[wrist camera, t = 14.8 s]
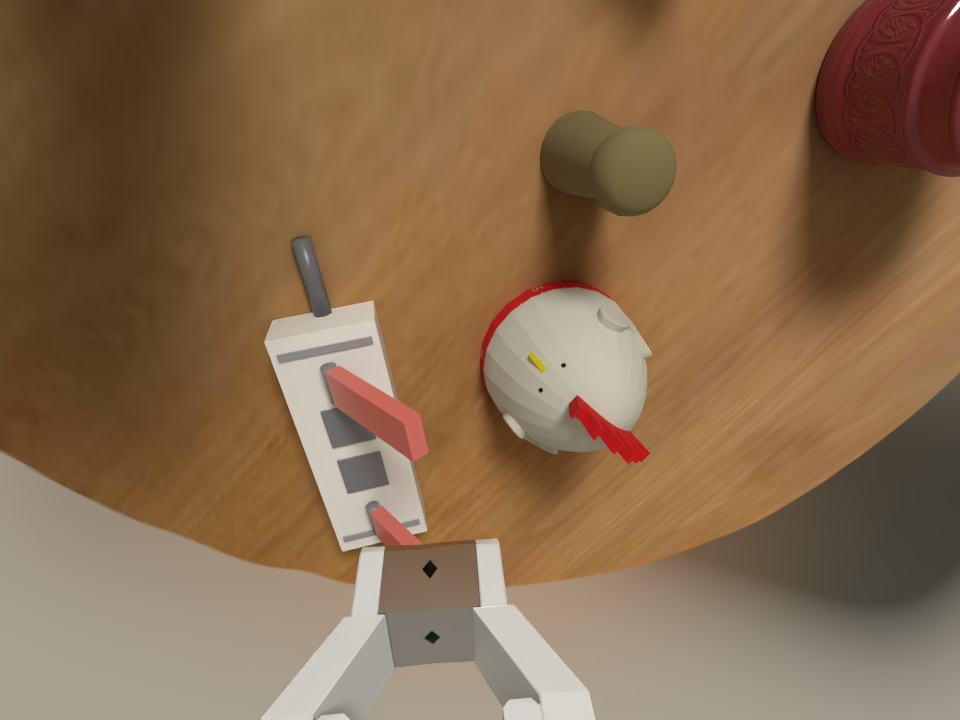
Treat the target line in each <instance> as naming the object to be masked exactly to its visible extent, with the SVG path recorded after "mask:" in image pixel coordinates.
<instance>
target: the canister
mask: <svg viewBox="0 0 960 720" xmlns="http://www.w3.org/2000/svg"><path fill="white" fill-rule="evenodd" d="M816 114H817V120H818V124H819V128H820V130H821V133H822V135H823V137H824V138H825V140H826V141H827V143H828V144H829V145H830V146H831V147H832V148H833V149H834V150H835V151H837V152H838V153H840V154H842V155H844V156H847V157H848V158H850V159H852V160H854V161H857V162H861V163H867V164H871V165H894V166H901V167H907V168H914V169H920V170H926V171H928V172H930V173H933V174H936V175H939V176H945V177H959V176H960V0H867V1H865V2H864V3H863V4H862V5H861V6H860V7H859V8H858V9H857V10H856V11H855V12H854V13H853V14H852V15H851V17H850V18H849V19H848V20H847V22H846V23H845V24H844V25H843V27H842V28H841V30H840V31H839V33H838V34H837V36H836V38H835V39H834V41H833V43H832V45H831V47H830V49H829V51H828V53H827V56H826V58H825V60H824V63H823V66H822V69H821V73H820V76H819V80H818V86H817V93H816Z"/></svg>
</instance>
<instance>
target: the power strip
mask: <svg viewBox="0 0 960 720" xmlns="http://www.w3.org/2000/svg"><path fill="white" fill-rule="evenodd" d="M291 243H292V247H293V250H294V253H295V256H296V259H297V263H298V266H299V269H300V272H301V276H302V279H303V282H304V285H305V288H306V292H307V295H308V298H309V301H310V304H311V308H312V311H313V312H312V313H307V314H301V315H296V316H291V317H286V318H281V319H276V320H272V323H271V325H270V328H269V331H268V333H267V336H266V338H265V341H264V343H265V345H266V348H267V351H268V354H269V356H270V359H271V362H272V364H273V367H274V370H275V372H276V375H277V378H278V380H279V383H280V386H281V388H282V391H283V394H284V396H285V399H286V402H287V405H288V407H289V410H290V413H291V415H292V418H293V421H294V423H295V426H296V429H297V431H298V434H299V437H300V439H301V442H302V445H303V447H304V450H305V453H306V456H307V458H308V461H309V464H310V466H311V469H312V472H313V474H314V477H315V480H316V482H317V485H318V488H319V490H320V493H321V496H322V498H323V501H324V504H325V507H326V509H327V512H328V515H329V517H330V520H331V523H332V525H333V528H334V531H335V533H336V536H337V539H338V541H339V544H340V547H341V549H342V552H343V551H347V550H352V549H356V548H360V547H364V546H368V545H372V544H376V543H380V542H381V541H380V540H379V539H378V537H377V536H376V535H374V533H373V530H372V527H371V524H370V521H369V518H368V515H367V511H366V508H365V507H366V505H367V504H368V503H369V502H371V501H377V502H379V505H380V506H383V507H384V508H385V509H386V510H387V511H388V512H389V513H390V514H391V515H392V516H394V517H395V518H396V519H397V520H398V521H399V522H400V523H401V524H402V525H403V526H404V527H405V528H406V529H407V530H409V531H410V532H411V533H412V534H417V533H421V532H426V531H427V524H426V517H425V510H424V503H423V498H422V494H421V490H420V486H419V482H418V478H417V474H416V470H415V466H414V462H412V461H411V460H409V459H408V458H407V457H405V456H404V455H402V454H401V453H400V452H398V451H397V450H395V449H394V448H393V447H391V446H390V445H388V444H387V443H386V442H384V441H383V440H381V439H380V438H379V437H377V436H376V435H374V434H373V433H372V432H370V431H369V430H367V429H366V428H365V427H363V426H362V425H360V424H359V423H358V422H356V421H355V420H353V419H352V418H351V417H349V416H348V415H346V414H345V413H344V412H342V411H341V410H339V409H338V408H337V407H335V405H333V404H331V402H330V399H329V396H328V393H327V390H326V387H325V383H324V380H323V377H322V374H321V371H320V367H321V366H322V365H323V364H326V363H329V362H334V363H336V366H341V367H343V368H344V369H346V370H348V371H349V372H351V373H353V374H354V375H356V376H358V377H359V378H361V379H363V380H364V381H366V382H368V383H369V384H371V385H373V386H374V387H376V388H378V389H379V390H381V391H383V392H384V393H386V394H388V395H389V396H391V397H393V398H394V399H396V400H398V397H397V393H396V389H395V385H394V381H393V377H392V373H391V369H390V365H389V360H388V356H387V352H386V348H385V344H384V340H383V336H382V332H381V328H380V324H379V320H378V316H377V312H376V308H375V304H374V301H369V302H363V303H358V304H353V305H348V306H343V307H338V308H332V309H331V306H330V303H329V299H328V296H327V293H326V289H325V286H324V282H323V279H322V275H321V272H320V269H319V265H318V262H317V258H316V255H315V251H314V248H313V245H312V241H311V238H310V236H300V237H296V238H294V239H292V240H291Z"/></svg>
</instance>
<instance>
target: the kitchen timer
mask: <svg viewBox="0 0 960 720" xmlns="http://www.w3.org/2000/svg"><path fill="white" fill-rule="evenodd" d="M651 356H652V353H651V351H650V349H649V348H648V346H647V345H646V343H645V341H644V340H643V338H642V337H641V335H640V333H639V332H638V330H637V328H636V327H635V325H634V324H633V323H632V321H631V320H630V319H629V318H628V316H627V315H626V314H625V313H624V312H623V311H622V310H621V308H620V307H619V306H618V305H617V304H616V302H615V301H614V300H612V299H611V298H610V297H609V296H608V295H606V294H605V293H603V292H601V291H599V290H598V289H596V288H594V287H593V286H591V285H587V284H582V283H578V282H573V281H563V282H551V283H546V284H543V285H540V286H538V287H535V288H532V289H530V290H527V291H525V292H524V293H522V294H521V295H519V296H518V297H516V298H515V299H514V300H512V301H511V302H509V303H508V304H507V305H506V306H505V307H504V308H503V309H502V310H501V312H500V313H499V314H498V315H497V316H496V318H495V319H494V320H493V321H492V323H491V325H490V327H489V329H488V331H487V334H486V336H485V338H484V340H483V343H482V351H481V358H480V365H481V370H482V376H483V381H484V383H485V386H486V388H487V390H488V392H489V394H490V396H491V397H492V399H493V401H494V403H495V405H496V406H497V408H498V409H499V411H500V412H501V413H502V414H503V416H502V417H503V419H504V420H505V421H506V422H507V424H508V425H509V426H510V428H511V429H512V430H513V432H514V433H515V434H516V435H517V436H518V437H519V438H521V439H525V440H527V441H529V442H531V443H533V444H534V445H536V446H538V447H540V448H541V449H543V450H545V451H547V452H549V453H552V454H558V451H559V450H562V451H571V452H580V453H583V452H590V451H598V450H601V449H604V448H606V447H608V448H609V449H610V451H611V452H612V453H613V454H615V453H616V452H617V451H618V452H619V454H620V455H621V456H622V457H623V459H624V460H625V461H626V462H627V463H628V464H629V463H630V462H631V461H632V460H633V461H634V462H635V463H637V462H638V461H639V460H640V461H641V462H642V461H643V460H644V459H645V458H646V457H647V456H648V455H649V454H650V453H649V451H648V450H647V449H646V448H645V447H644V446H643V445H642V444H641V443H640V441H639V440H638V439H637V438H636V437H635V436H634V435H633V434H632V433H631V432H630V430H631V429H632V428H633V426H634V425H635V423H636V421H637V420H638V418H639V416H640V414H641V411H642V408H643V405H644V402H645V398H646V394H647V366H646V361H645V358H648V357H651Z"/></svg>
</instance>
